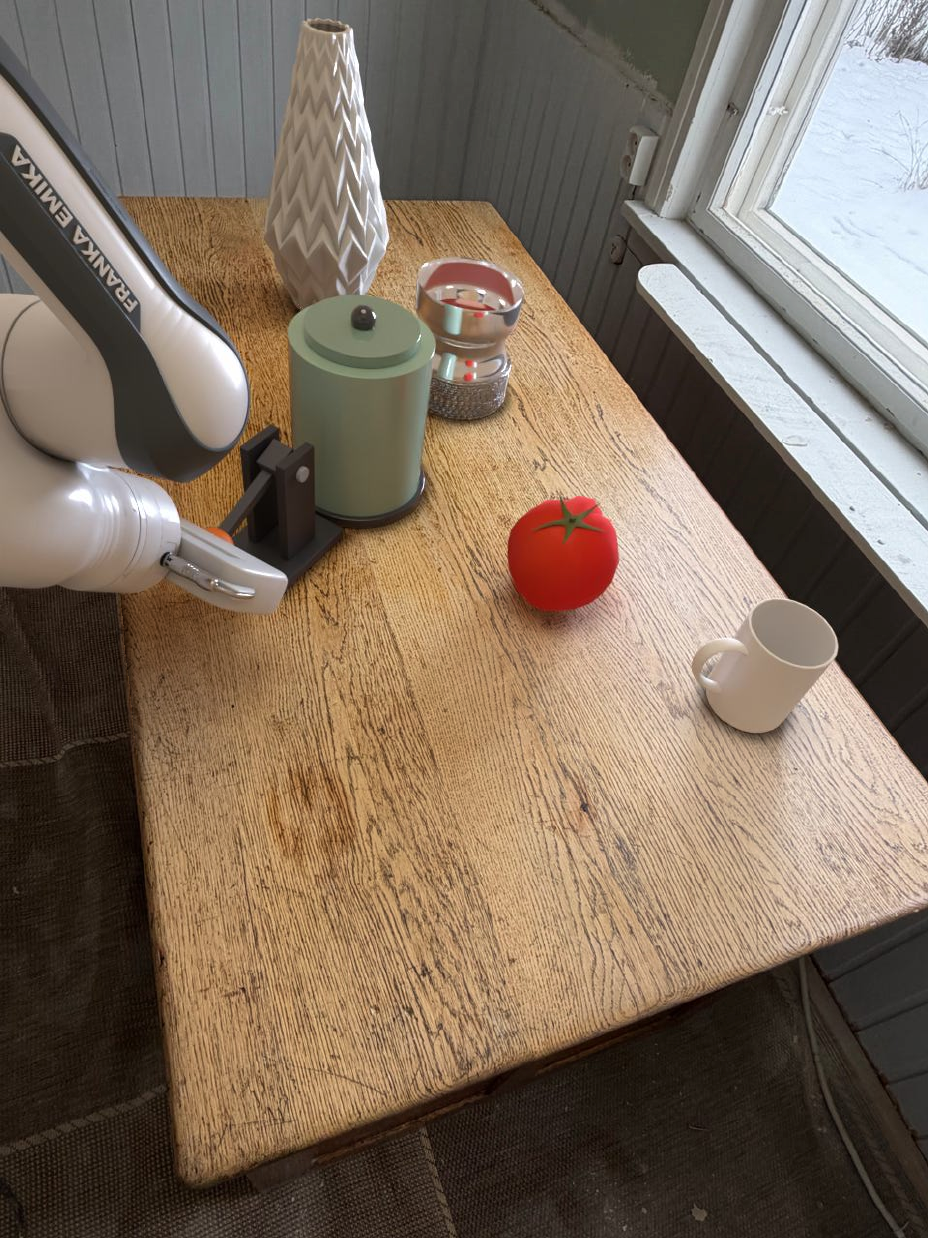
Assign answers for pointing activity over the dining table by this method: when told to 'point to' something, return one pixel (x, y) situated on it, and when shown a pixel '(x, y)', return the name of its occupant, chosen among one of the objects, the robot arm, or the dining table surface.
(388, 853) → the dining table surface
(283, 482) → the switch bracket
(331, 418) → the green canister
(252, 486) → the switch
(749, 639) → the mug
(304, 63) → the vase
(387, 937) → the dining table surface
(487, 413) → the silver candle holder
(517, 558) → the tomato
